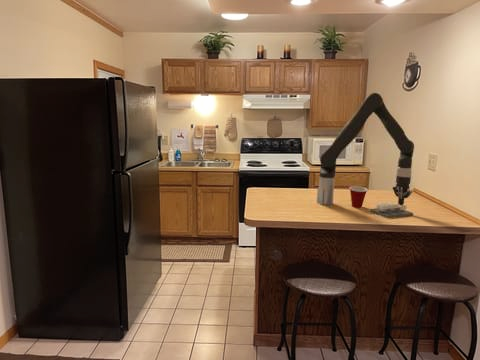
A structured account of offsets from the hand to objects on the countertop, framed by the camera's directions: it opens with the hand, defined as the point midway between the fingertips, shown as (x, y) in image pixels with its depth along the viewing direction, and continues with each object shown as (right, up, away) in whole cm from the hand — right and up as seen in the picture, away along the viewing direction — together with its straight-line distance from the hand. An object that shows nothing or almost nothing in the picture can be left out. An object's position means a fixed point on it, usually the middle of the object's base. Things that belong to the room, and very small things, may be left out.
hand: (400, 204), depth 196 cm
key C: (0, -4, +1) cm, 4 cm away
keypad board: (-6, -5, -1) cm, 8 cm away
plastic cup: (-21, -2, +12) cm, 25 cm away
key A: (-12, -3, -4) cm, 13 cm away
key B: (-6, -3, -2) cm, 7 cm away
